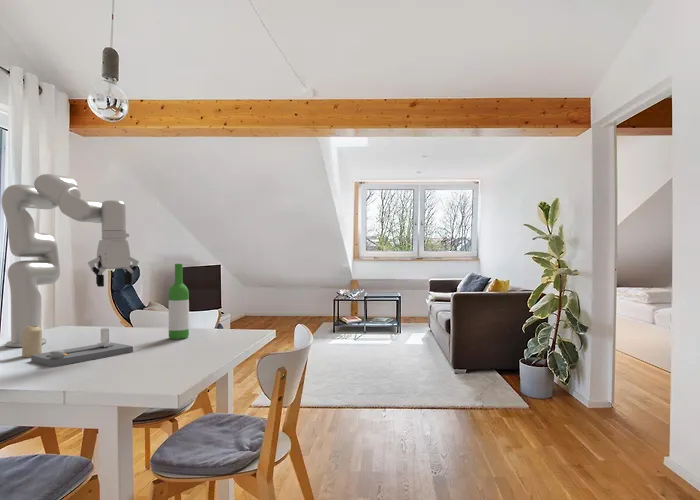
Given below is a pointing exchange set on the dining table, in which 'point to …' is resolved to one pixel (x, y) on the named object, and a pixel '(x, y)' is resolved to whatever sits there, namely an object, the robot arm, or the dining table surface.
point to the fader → (104, 338)
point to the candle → (31, 341)
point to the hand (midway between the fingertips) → (114, 285)
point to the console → (79, 354)
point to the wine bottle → (178, 307)
